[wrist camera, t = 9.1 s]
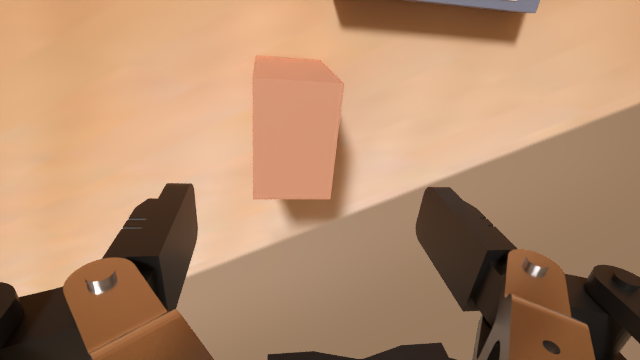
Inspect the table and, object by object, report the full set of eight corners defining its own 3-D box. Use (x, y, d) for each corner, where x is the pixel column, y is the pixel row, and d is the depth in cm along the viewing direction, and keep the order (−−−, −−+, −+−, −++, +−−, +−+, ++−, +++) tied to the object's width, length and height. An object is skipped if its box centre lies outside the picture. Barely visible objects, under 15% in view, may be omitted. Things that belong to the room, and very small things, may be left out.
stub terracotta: (320, 60, 21) (344, 83, 15) (313, 148, 24) (330, 199, 18) (255, 55, 20) (252, 77, 14) (256, 147, 23) (252, 199, 17)
